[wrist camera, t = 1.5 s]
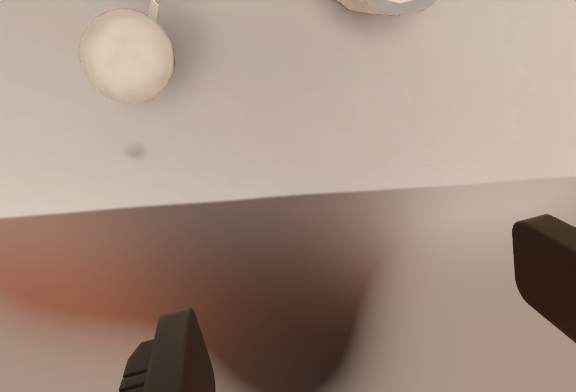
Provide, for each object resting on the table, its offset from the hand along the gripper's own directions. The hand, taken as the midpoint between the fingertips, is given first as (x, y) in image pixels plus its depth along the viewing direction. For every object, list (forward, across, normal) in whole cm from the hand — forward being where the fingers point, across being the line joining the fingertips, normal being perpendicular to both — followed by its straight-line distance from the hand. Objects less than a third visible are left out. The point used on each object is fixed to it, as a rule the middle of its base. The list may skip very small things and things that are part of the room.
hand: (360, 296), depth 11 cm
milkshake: (+24, +6, -7) cm, 26 cm away
